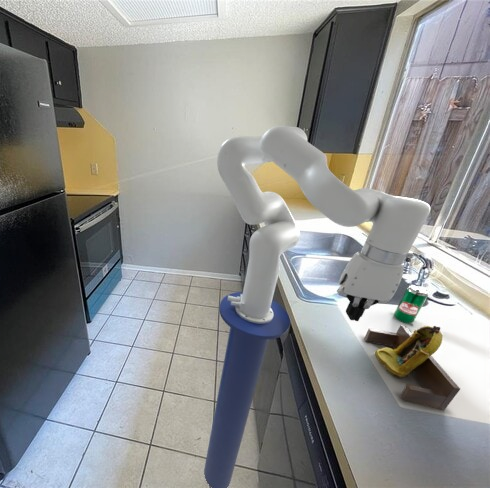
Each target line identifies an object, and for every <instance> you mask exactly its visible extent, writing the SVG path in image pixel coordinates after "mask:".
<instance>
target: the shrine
mask: <svg viewBox="0 0 490 488" xmlns="http://www.w3.org/2000/svg"><path fill="white" fill-rule="evenodd" d="M440 330H441V327H440V326H436V325H434V326H430V325H425V326H421V327H419V328H417V329H414V330H413V333H412V336H411V337H410V338H408V339H407V340H406V341H405V342H404V343H403V344H402V345H399V346H398V347H397V349H394V348H391V347H389V346H385V347H381V348H378V349H377V350H375V351H374V355H375V359H377V360H378V363H380V364H381V365H382V367H384V368H385V369H386V372H388V373H389V374H390V375H392V376H393V377H396V378H397V379H398V378H399V379H403V378H407V377H408V375H409V374H410V373H412V372H411V371H412V370H413V369H414V368H416V367H417V366H419V365H420V364H422V363H423V362H424V361H425V360H426V359H427V358H429V357H430V356H432V355H434V354H435V353H436V352H437V351H438V350H439V348H440V347H441V346H442V342H443V334H442V332H441V331H440Z"/></svg>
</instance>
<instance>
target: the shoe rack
mask: <svg viewBox="0 0 490 488" xmlns="http://www.w3.org/2000/svg"><path fill="white" fill-rule="evenodd" d="M412 334H413V333H412V332H411V331H410V329H409V328H408V327H407V326H406V325H403V324H400V325H399V327H398V329H397V330H396V332H392V331H388V330H387V331H386V330H380V329H375V328H371V327H369V328H368V329H367V331H366V333H365V335H364V337H363V339H364V341H365V343H366V342H367V343H373V344H378V345H383V346H387V347H393V350H395V349H397V347H398V346H399V345H402V344H403V343H404V342H405V341H406V340H407V339H408V338H410V337H411V336H412ZM410 373H411V374H412V375H413V376H414V377H415V379H416V380H417V381H418V383H419V385H420V386H416V385H411V384H406V385H405V386H404V389H403V390H402V392H401V394H400V395H399V397H400V399H401V400H402V401H403V402H405V403H406V402H407V403H411V404H414V405H415V404H416V405H420V406H425V407H429V408H433V409H438V410H443V411H445V410H446V409H447V408H448V407H449V405H450V404H451V402H452V401H453V400H454V399H455V397H456V396H457V395H458V393H459V392H460V391H461V387H459V386H458V384H457V383H456V382H455V381H454V380H453V378H451V376H450V375H449V374H448V373H447V372H446V370H445V369H444V368H443V367H442V366H441V365H440V364H439V363H438V361H437V360H436V359H435V358H434V357H433V356H432V355H431V356H430V357H429V358H427V359H426V360H425V361H424V362H423V363H422V364H420V365H419V366H417V367H416V368H414V369H413V370H412V371H411V372H410Z"/></svg>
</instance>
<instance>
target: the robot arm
mask: <svg viewBox="0 0 490 488" xmlns="http://www.w3.org/2000/svg"><path fill="white" fill-rule="evenodd" d="M265 163H274V164H275V165H276V166H277V167H279V169H281V170H283V171H284V172H285V173H286V174H287V175H288V176H290V177H291V178H292V179H293V180H294V181H295V182H296V183H297V184H298V187H299V189H300V190H301V192H302V193H303V195H304V197H305V198H306V200H307V201H308V202H309V203H310V204H311V205H312V206H313V207H314V208H315V209H317V210H318V211H319V212H320V213H321V214H322V215H323V216H325V217H326V218H327V219H328V220H330V221H331V222H333V223H334V224H337V225H338V226H342V227H347V228H353V227H358V226H360V225H362V224H364V223H369V222H371V223H372V226H371V228H370V231H369V233H368V235H367V237H366V239H365V241H364V244H363V247H362V248H361V251H356V252H355V253H354V254H353V256H352V257H351V258H350V260H349V261H348V262H347V264H346V266H345V268H343V269H344V270H343V271H342V273H341V275H340V276H339V280H338V285H340V286H339V287H338V288H337V290H336V293H337V294H338V296H341V297H343V298H346V299H347V300H348V301H349V302H348V304H347V306H346V309H345V313H346V315H347V317H348V318H349V320H350V321H355V322H359V321H360V319H361V318H362V317H363V314H364V313H365V311H366V310H369V309H370V308H371V307H372V306H374V305H377V304H379V305H380V304H383V305H384V304H388V303H389V301H391V300H392V299H393V297H395V294H396V292H397V290H398V288H399V286H400V284H401V281H402V278H403V275H404V271H405V263H404V262H405V261H406V259H412V258H413V257H414V253H413V252H412V251H410V250H411V249H412V246H413V245H414V243H415V241H416V239H417V237H418V235H419V233H420V232H421V230H422V228H423V226H424V224H425V222H426V220H427V219H428V217H429V215H430V212H431V206H430V204H429V203H427V202H425V201H423V200H420V199H415V198H411V197H405V196H397V195H396V196H395V195H393V194H389V193H385V192H383V191H380V190H377V189H375V188H369V187H362V188H357V189H353V188H351V187H349V186H348V185H347V184H345V183H344V182H343V181H342V180H340V179H339V178H338V177H337V176H336V175H335V174H334V173H333V172H332V171H331V170H330V168H329V165H328V157H327V155H326V154H325V153H324V152H323V151H321V150H320V149H319V148H317V147H316V146H314V145H313V144H311V143H310V142H309V141H308V136H307V134H306V132H305V131H304V130H303V129H302V128H300V127H297V126H290V125H276V126H272V127H270V128H269V129H267V130H266V131H265V132H264V133H263V135H259V136H255V135H254V136H252V135H237V136H236V135H235V136H232V137H229V138H227V139H226V140H224V142H222V143H221V145H220V147H219V149H218V152H217V156H216V167H217V171H218V174H219V176H220V177H221V179H222V182H224V185H225V186H226V188H227V190H228V192H229V194H230V196H231V198H232V200H233V203H234V205H235V207H236V209H237V211H238V213H239V215H240V217H241V219H242V220H243V222H244V223H246V224H247V225H250V226H255V225H260V224H263V223H264V226H261V227H260V228H258V229H256V230H255V231H254V232H252V235H251V236H250V239H249V244H248V245H249V246H248V247H249V249H248V251H249V257H248V262H247V263H248V264H247V269H246V275H245V280H244V285H243V290H242V292H243V294H241V295H240V297H238V296H237V297H233V296H228V301H230V302H231V305H233V306H235V310H236V312H237V314H238V315H239V316H240V317H242V318H243V319H245V320H246V321H249V322H252V323H256V324H265V323H268V322H270V321H271V320H272V319H273V314H274V313H273V311H272V309H271V308H270V307H271V303H272V300H273V298H274V294H275V290H276V287H277V283H278V279H279V274H280V270H281V262H280V261H281V260H280V258H281V256H282V254H283V253H285V252H287V251H289V250H291V249H293V248H295V247H296V246H297V244H298V243H299V241H300V240H301V239H300V238H301V232H300V229H299V227H298V224H297V222H296V220H295V218H294V217H293V215H292V213H291V211H290V209H289V207H288V205H287V203H286V201H285V199H284V198H283V197H282V196H281V195H280V194H279V193H277V192H274V191H262V190H261V188H260V187H259V185H258V183H257V180H256V178H255V177H254V176H253V174H252V173H251V172H250V171H249V170H248V169H247V167H246V166H250V165H259V164H260V165H261V164H265Z"/></svg>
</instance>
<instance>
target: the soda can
mask: <svg viewBox="0 0 490 488" xmlns="http://www.w3.org/2000/svg"><path fill="white" fill-rule="evenodd" d="M428 292H429V291H428V290H427V289H426V288H424V287H422V286H419V285H413V284H412V285H409V286H408V287H407V288H406V289H405V290H404V292H403V295H402V297H401V299H400V301H399V303H398V305H397V307H396V309H395V311H394V313H393V316H394V318H395V319H396V320H397V321H399V322H401V323H404V324H413V323H414V322H415V320H416V318H417V316H418V315H419V312H420V311H421V309H422V308H423V305H424V304H425V302H426V300H427V298H428V297H429V294H428Z"/></svg>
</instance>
